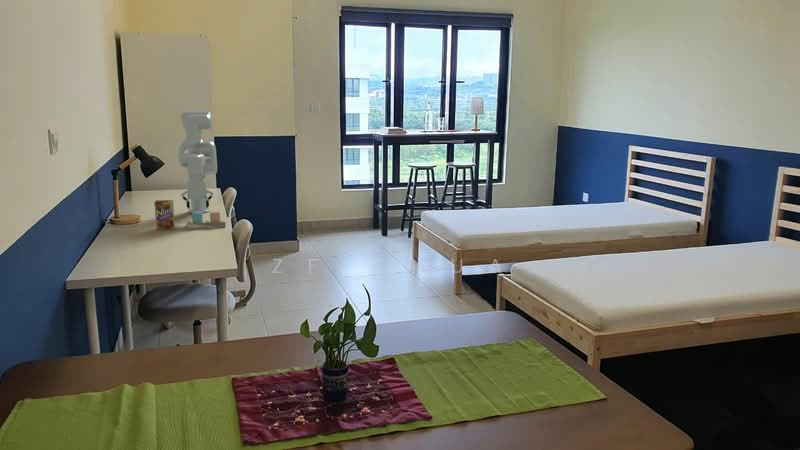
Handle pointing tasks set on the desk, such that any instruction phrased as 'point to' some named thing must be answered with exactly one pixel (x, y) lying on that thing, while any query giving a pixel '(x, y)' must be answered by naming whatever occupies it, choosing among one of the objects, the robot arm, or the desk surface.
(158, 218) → the candy box
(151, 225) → the desk surface
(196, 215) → the teal block
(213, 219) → the ochre block
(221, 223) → the lane shelf
